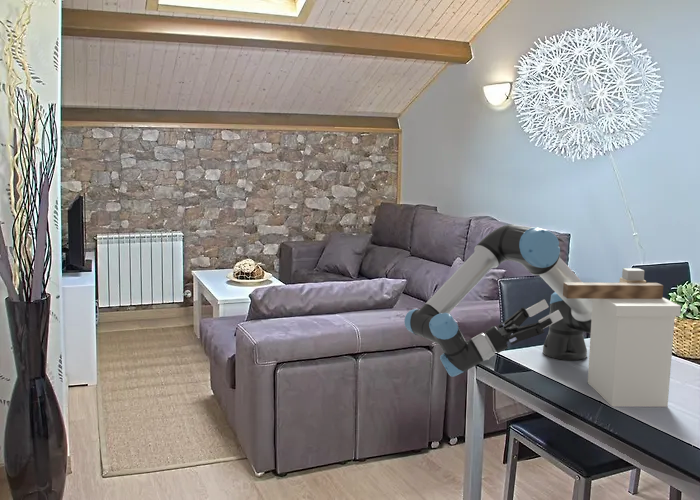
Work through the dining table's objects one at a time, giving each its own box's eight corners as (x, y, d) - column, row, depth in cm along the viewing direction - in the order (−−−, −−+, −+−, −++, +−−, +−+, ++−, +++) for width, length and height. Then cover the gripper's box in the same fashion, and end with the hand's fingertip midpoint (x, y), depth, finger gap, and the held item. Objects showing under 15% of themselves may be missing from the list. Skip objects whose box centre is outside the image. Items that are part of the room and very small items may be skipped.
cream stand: (610, 408, 194) (616, 305, 189) (583, 381, 216) (588, 289, 211) (672, 408, 194) (680, 306, 190) (639, 381, 216) (646, 289, 211)
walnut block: (567, 298, 198) (567, 285, 198) (562, 295, 202) (563, 282, 202) (662, 298, 199) (663, 285, 198) (656, 295, 202) (657, 282, 202)
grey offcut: (627, 280, 205) (628, 270, 205) (622, 277, 209) (622, 268, 209) (643, 280, 205) (644, 270, 205) (638, 277, 209) (638, 268, 209)
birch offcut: (625, 293, 205) (626, 280, 205) (618, 290, 210) (619, 277, 210) (645, 293, 205) (646, 280, 205) (638, 290, 210) (639, 277, 210)
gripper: (487, 341, 215) (546, 309, 214) (505, 366, 190) (573, 330, 189) (476, 321, 214) (535, 288, 213) (493, 344, 189) (560, 307, 188)
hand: (553, 308), depth 201 cm, fingers open, 13 cm apart
